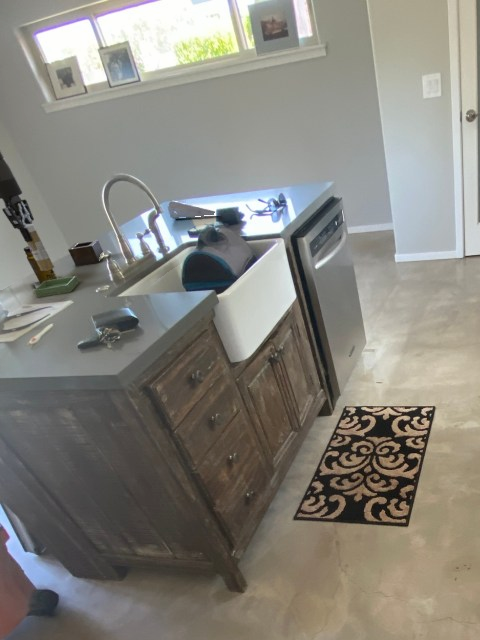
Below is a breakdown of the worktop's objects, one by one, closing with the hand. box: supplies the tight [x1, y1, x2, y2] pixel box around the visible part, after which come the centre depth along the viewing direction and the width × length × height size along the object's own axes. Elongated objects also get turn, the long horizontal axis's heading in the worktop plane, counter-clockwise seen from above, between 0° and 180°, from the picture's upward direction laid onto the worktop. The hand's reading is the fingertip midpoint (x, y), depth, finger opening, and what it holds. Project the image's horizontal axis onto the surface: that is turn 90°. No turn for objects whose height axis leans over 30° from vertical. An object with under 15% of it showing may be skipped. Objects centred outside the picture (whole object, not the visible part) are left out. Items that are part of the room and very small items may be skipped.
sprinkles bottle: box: [25, 223, 55, 271], centre depth 170 cm, size 5×5×13 cm
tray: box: [33, 275, 80, 298], centre depth 178 cm, size 11×10×2 cm
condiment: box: [23, 245, 59, 289], centre depth 183 cm, size 7×8×12 cm
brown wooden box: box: [67, 239, 104, 267], centre depth 202 cm, size 9×9×6 cm
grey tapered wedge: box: [167, 199, 216, 220], centre depth 242 cm, size 8×9×26 cm
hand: (32, 239), depth 168 cm, fingers closed on sprinkles bottle, 4 cm apart
